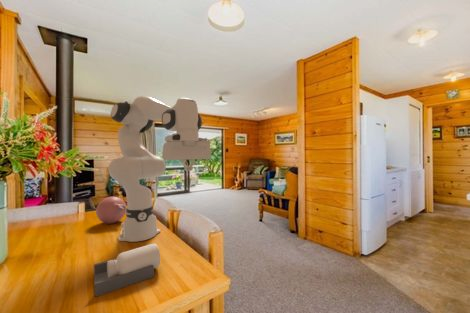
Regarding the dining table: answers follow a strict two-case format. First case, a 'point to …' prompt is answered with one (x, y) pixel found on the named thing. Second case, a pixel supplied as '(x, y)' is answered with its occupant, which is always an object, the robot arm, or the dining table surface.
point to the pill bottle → (134, 260)
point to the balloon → (111, 210)
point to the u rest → (118, 278)
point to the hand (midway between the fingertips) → (188, 170)
